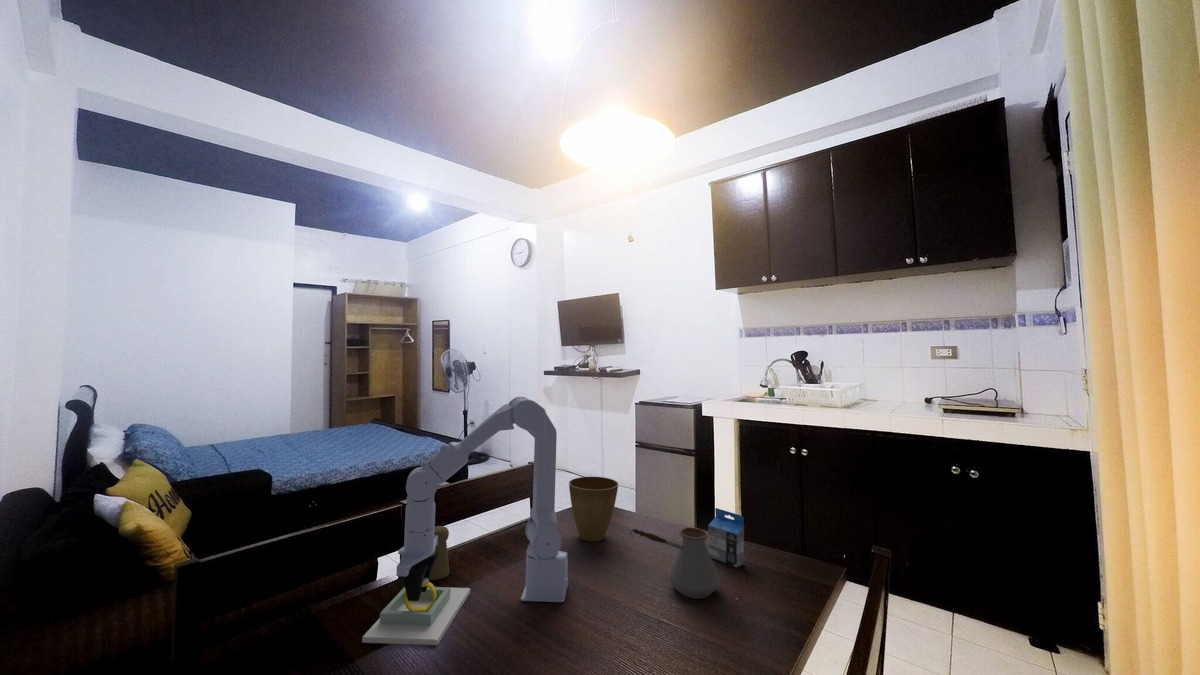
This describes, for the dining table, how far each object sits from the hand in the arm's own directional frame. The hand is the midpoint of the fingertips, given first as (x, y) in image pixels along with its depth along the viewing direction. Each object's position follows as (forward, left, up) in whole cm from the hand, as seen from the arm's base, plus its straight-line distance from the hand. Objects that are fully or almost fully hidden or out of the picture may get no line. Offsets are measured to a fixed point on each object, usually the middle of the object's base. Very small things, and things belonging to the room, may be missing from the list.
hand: (417, 595), depth 88 cm
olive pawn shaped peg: (+3, -17, -4) cm, 18 cm away
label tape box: (-70, -29, -4) cm, 76 cm away
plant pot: (-34, -42, -4) cm, 54 cm away
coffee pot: (-54, -12, -4) cm, 55 cm away
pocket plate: (-1, 0, -4) cm, 4 cm away
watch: (-1, 0, -3) cm, 3 cm away
